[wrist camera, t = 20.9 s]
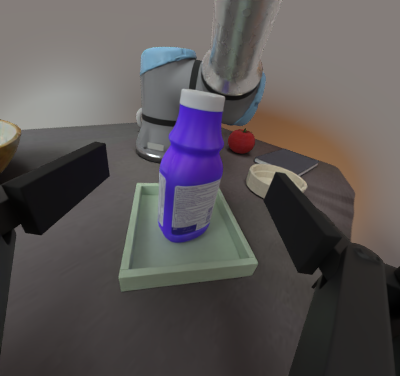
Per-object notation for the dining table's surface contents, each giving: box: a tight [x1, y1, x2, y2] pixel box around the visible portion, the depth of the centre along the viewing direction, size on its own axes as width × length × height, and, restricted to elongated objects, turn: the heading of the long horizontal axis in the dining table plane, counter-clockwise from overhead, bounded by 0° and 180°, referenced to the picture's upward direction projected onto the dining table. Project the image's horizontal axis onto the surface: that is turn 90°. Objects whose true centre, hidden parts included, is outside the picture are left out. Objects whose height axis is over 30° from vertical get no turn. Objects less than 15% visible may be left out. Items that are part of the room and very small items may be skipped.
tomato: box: [228, 129, 255, 154], centre depth 56 cm, size 9×9×8 cm
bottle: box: [158, 89, 225, 243], centre depth 20 cm, size 7×6×17 cm
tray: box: [118, 183, 258, 292], centre depth 25 cm, size 17×15×2 cm
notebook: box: [254, 149, 319, 176], centre depth 55 cm, size 13×2×21 cm
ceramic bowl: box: [246, 164, 307, 198], centre depth 39 cm, size 12×12×4 cm
